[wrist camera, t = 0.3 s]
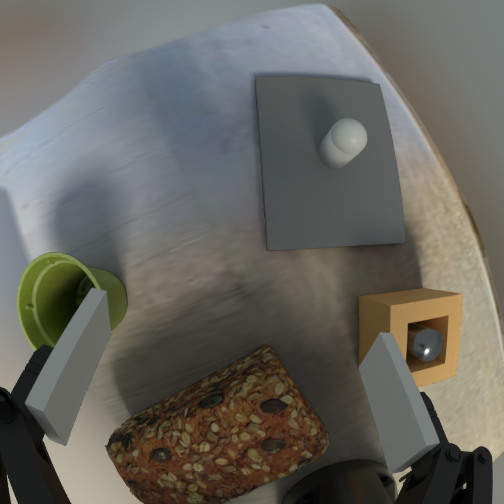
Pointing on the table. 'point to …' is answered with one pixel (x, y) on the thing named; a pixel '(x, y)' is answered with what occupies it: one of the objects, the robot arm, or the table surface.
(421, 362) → the collar
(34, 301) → the plant pot
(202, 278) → the table surface
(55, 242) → the table surface
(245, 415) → the bread
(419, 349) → the shiny metal cylinder
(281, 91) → the board
